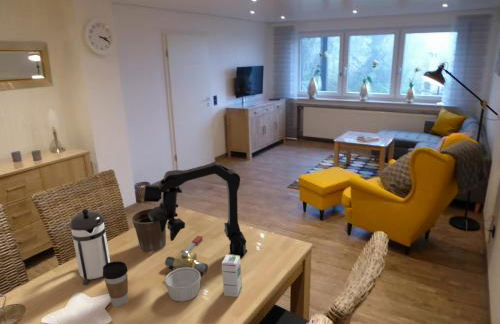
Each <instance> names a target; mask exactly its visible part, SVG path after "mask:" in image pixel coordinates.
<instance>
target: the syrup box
mask: <svg viewBox="0 0 500 324" xmlns="http://www.w3.org/2000/svg"><path fill="white" fill-rule="evenodd" d="M241 268H242V267H241V258H240V256H238V255H229V254H225V256H224V257H223V260H222V261H221V272H222V284H223V285H222V287H223V295H224V297H225V296H226V297H233V298H239V296H240V294H241V291H242V288H243V287H242V285H243V283H242V270H241Z"/></svg>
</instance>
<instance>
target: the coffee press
mask: <svg viewBox="0 0 500 324" xmlns="http://www.w3.org/2000/svg"><path fill="white" fill-rule="evenodd" d="M104 222H105V217H104V215H102V214H101V213H100V212H98V211H94V210H93V211H91V210H90V211H89V210H88V209H87V208H84V209H82V211H81V213H78V214H76V215H75V216H73V217H72V218H71V219H70V222H69V223H68V226H69V228H70V230H71V238H72V241H73V246H74V252H75V256H76V261H77V267H78V271H79V275H80V277H81V278H83V279H82V280H83V281H82V285H83V286H87V285H88V284H89V282H90V280H94V279H95V280H96V279H99V278H102V277H103V266H104V265H106V264H107V263H109V262H111V260H110V252H109V245H108V241H107V240H108V239H107V234H106V233H107V232H106V231H107V230H106V225H105V223H104Z"/></svg>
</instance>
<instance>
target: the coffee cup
mask: <svg viewBox="0 0 500 324" xmlns="http://www.w3.org/2000/svg"><path fill="white" fill-rule="evenodd" d="M128 269H129V268H128V267H127V264H126V263H125V261H119V260H117V261H116V260H115V261H110V262H109V263H107V264H106V265H104V266H103V276H102V277H103V278H104V283H105V286H106V289H107V292H108V295H109V299H110V304H111V305H112V306H113V307H121V306H124V305H126V304H127V303H128V301H129V293H128V292H129V285H128V284H129V282H128Z"/></svg>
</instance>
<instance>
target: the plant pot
mask: <svg viewBox="0 0 500 324" xmlns="http://www.w3.org/2000/svg"><path fill="white" fill-rule="evenodd" d="M154 208H155V207H153V208H152V207H151V208H146V209H145V208H144V209H142V210H138V211H136V212H135V213H134V214H132V216H131V217H130V219H131V222H132V223H133V227H134V229H135V233H136V237H137V241H138V245H139V249H140V250H141V251H142V252H145V253H151V252H157V251H160V250H161V249H163V248H165V247H166V244H167V233H166V231H167V225H166V226H165V229H164V231H163V232H161V229H160V225H159V221H157V222H155V223H153V222H152V221H151V220H150V219H149V216H148V212H149V211H151V210H153V209H154Z"/></svg>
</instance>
